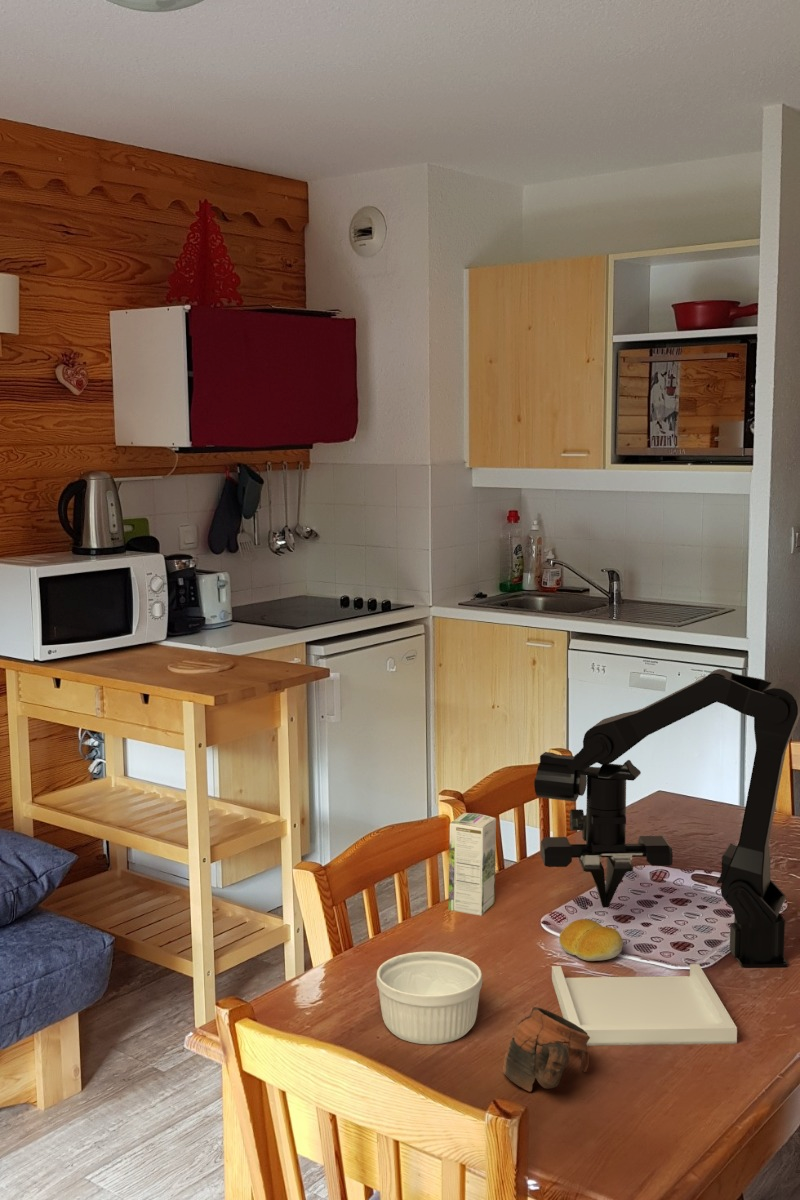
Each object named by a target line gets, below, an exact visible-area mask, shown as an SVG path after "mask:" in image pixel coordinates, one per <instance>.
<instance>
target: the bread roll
mask: <svg viewBox="0 0 800 1200" xmlns="http://www.w3.org/2000/svg"><path fill="white" fill-rule="evenodd" d="M558 940H559V944H560V947H561V948H562V950H564V952H565V953H567V954H569V955H572V956H576V957H577V958H579V959H581V960H583V961H586V962H587V961H588V962H595V961H606V960H610V959H613V958H615V957H617V956H619V955H620V954H621V952H622V950H623V947H624V946H623V945H624V944H623V943H624V941H623V938H622V935H621V934H620V933H619V931H618V930H617V929H615V928H613V927H610V926H603V925H602V924H600V923H599V922H597V921H594V920H592V919H589V918H581V919H575V920H574V921H572V922H571V923H569V924H567V926H565V927H564V929H563V930H562V931H561V932H560V933H559V939H558Z"/></svg>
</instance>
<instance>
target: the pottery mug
mask: <svg viewBox="0 0 800 1200" xmlns="http://www.w3.org/2000/svg"><path fill="white" fill-rule="evenodd" d="M589 1039H590V1037H589V1036H588V1035H587V1033H586V1032H585V1031H584V1030H583V1029H581V1028H580V1027H578V1026H577V1025H575V1024H573V1023H572V1022H570V1021H568V1020H566V1019H564V1018H563V1016H560V1015H558V1014H556V1013H553V1012H552V1011H549V1010H547V1009H544V1008H540V1007H536V1006H535V1007H532V1009H531V1012H530V1015H528V1016H525V1017H524V1018H523V1019H521V1020H520V1021H519V1022H518V1023H517V1025H516V1026H515V1029H514V1030H513V1037H512V1038H511V1041H510V1046H509V1048H508V1051H506V1052H505V1054H504V1057H503V1059H504V1061H503V1067H502V1073H503V1074H504V1076H506V1078H508V1079H509V1081H511V1082H512V1083H513V1084H515V1085H516V1086H517V1087H520V1088H521V1089H522V1090H525V1091H527V1092H529V1093H531V1092H532V1091H533V1087H534V1084H535V1082H536V1081H537V1083H538V1084H539V1085H540V1086H541V1087H542V1088H544V1089H548V1090H549V1089H554V1088H557V1087H558V1086H559V1084H560V1082H561V1080H562V1075H563V1073H564V1071H565V1069H566V1068H567V1064H568V1062H569V1061H570V1051H569V1050H570V1049H571V1050H576V1051H577V1052H578V1054H579V1055H580V1057H581V1063H580V1071H581V1072H587V1070H588V1067H589V1063H590V1062H589V1061H590V1053H589V1049H588V1046H587V1042H588V1040H589ZM566 1044H568V1046H567V1045H566ZM538 1046H539V1047H541V1052H540V1053H537V1047H538Z"/></svg>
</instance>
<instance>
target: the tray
mask: <svg viewBox="0 0 800 1200" xmlns="http://www.w3.org/2000/svg"><path fill="white" fill-rule="evenodd" d="M551 981H552V985H553V988H554V992H555V994H556V997H557V1002H558V1005H559V1008H560V1011H561V1015H562V1018H564V1019H566V1020H568V1021H570V1022H572V1023H573V1024H575V1025H577V1026H578V1027H580V1028H581V1029H583V1030H584V1031H585V1032H586V1033H587V1035H588V1036H589V1037H590V1039H589V1040H588V1042H587V1047H588V1046H590V1047H591V1046H592V1047H593V1046H595V1047H596V1046H642V1045H643V1046H647V1045H648V1046H650V1045H651V1046H658V1045H660V1046H661V1045H663V1046H664V1045H668V1046H670V1045H671V1046H672V1045H673V1046H674V1045H725V1044H726V1045H727V1044H728V1045H729V1044H731V1045H732V1044H733V1045H736V1044H738V1039H737V1038H738V1026H736V1024H735V1023H734V1020H733V1019H732V1017H731V1015H730V1013H729V1012H728V1011H727V1009H726V1006H724V1004H723V1002H722V1001H721V999H720V996H719V995H718V994H717V992H716V990H715V989H714V987H713V986H712V984H711V982H710V981H709V979H708V977H707V975H706V974H705V972H704V970H703V969H702V967H701V965H700V963H698V964H697V963H693V964H691V963H690V964H689V975H685V976H684V975H683V976H680V975H678V976H677V975H676V976H674V975H673V976H670V975H669V976H615V977H614V976H608V977H607V976H605V977H604V976H601V977H600V976H597V977H596V976H593V977H588V976H586V977H565V974H564V972H563V968H562V965H552V966H551Z"/></svg>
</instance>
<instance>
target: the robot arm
mask: <svg viewBox="0 0 800 1200" xmlns="http://www.w3.org/2000/svg"><path fill="white" fill-rule="evenodd" d="M715 703H719V704H722V705H725V706H727V707H729V708H730V709H733V710H734V711H737V712H738V713H741V714H744V715H746V716H749V717H751V718H753V725H754V726H753V730H754V731H753V732H754V738H755V753H754V759H753V764H752V771H751V775H750V780H749V781H750V782H749V786H748V793H747V796H746V803H745V807H744V813H743V819H742V824H741V829H740V834H739V840H738V844H737V845H735V844H734V843H729V844H728V846H727V847H726V850H725V851H724V853H723V854H722V856H721V873H720V876H719V877H718V879H717V880H716V884H718V885H719V884H721V885H720V895H721V897H722V899H724V901H725V903H726V904H727V905H729V906H730V907H731V908H732V912H733V914H734V920H733V921H734V922H731V923H730V928H729V929H730V932H729V951H730V953H731V954H732V955H733V957H734V958H735V959H736V960H737V963H739V964H740V966H741V967H742V968H777V967H778V968H784V967H788V966H789V961H788V960H787V959H786V958H785V939H786V938H785V934H786V933H785V932H786V919H785V918H784V917H783V916H782V914H781V913H780V911H781V909H782V907H783V905H784V902H785V900H786V897H787V896H786V894H785V893H784V892H783V891H782V890H781V889H780V888H779V886H777V884H776V883H775V882H774V881H773V880H772V879H771V854H770V853H771V852H770V843H769V842H770V836H771V830H772V827H773V826H772V825H773V821H774V815H775V809H776V805H777V799H778V795H779V794H778V793H779V789H780V783H781V777H782V773H783V768H784V763H785V758H786V751H787V750H788V749H787V748H788V746H789V743H790V741H791V739H792V737H793V734H794V733H795V729H796V727H797V725H798V723H799V720H800V687H799V686H798V685H796V684H795V683H793V682H791V681H788V680H776V681H769V680H765V679H763V678H758V677H754V676H748V675H742V674H738V673H735V672H732V671H729V670H726V669H724V668H722V669H721V668H718V669H714V670H712V671H711V672H709V674H707V675H706V676H704V677H702V678H700V679H698V680H697V681H694V682H693V683H691V684H688V685H685V686H684V687H682V688H681V689H678V690H676V691H675V692H672V693H670V694H669V695H667V696H664V697H662V698H660V699H659V700H656V701H655V702H652V703H650V704H648V705H647V706H645V707H643V708H639V709H637V710H634V711H628V712H622V713H619V714H616V715H613V716H609V717H606V718H603V719H602V720H600V721H598V722H597V723H596V724H595V725H593V726H592V727H590V728H589V729H588V730H587V731H586V732H585V733H584V735H583V740H582V748H581V749H580V750H579V751H578V753H576V754H575V755H567V754H566V755H564V754H556V753H554V752H550V751H549V752H548V751H545V752H543V753H541V754H540V757H539V764H538V766H537V769H536V774H535V777H534V785H533V786H534V793H535V796H536V797H537V798H543V799H549V800H557V801H566V802H573V803H575V802H576V801H577V800H578V798H579V797H582V796H584V794H585V793H586V811H585V813H586V814H584V809H570V810H569V828H570V831H572V832H573V831H581V832H582V833H581V835H582V840H583V841H584V842H585V843H582V844H581V843H578V844H577V843H574V844H573V843H572V844H571V843H570V840H569V838H568V837H567V836H544V837H543V838H542V839H541V841H540V856H541V859H542V863H543V865H544V867H548V868H567V867H568V866H569V865H570V864H571V863H572V862H573V859H574V858H575V859H576V858H578V861H579V863H580V866H581V868H582V870H583V872H585V873H590V874H591V877H592V879H593V881H594V885H595V887H596V891H597V893H598V894H597V895H598V897H599V901H600V904H601V907H602V908H603V909H606V908H607V909H608V908H609V907H610V904H611V902H612V900H613V899H614V895H615V894H616V891H617V889H618V887H619V885H620V883H621V882H622V880H623V879H624V877H625V875H627V873H629V872H633V871H634V866H633V864H632V860H633V858H643V857H644V858H645V860H646V862H648V864H649V865H650V866H652V867H655V866H656V867H661V866H662V867H664V866H667V867H668V866H669V867H670V866H671V865H673V860H674V859H673V848H672V846H671V845H670V844H669V842H668V840H666V838H664V836H663V835H639V836H638V840H637V841H638V842H637V843H626V832H627V831H626V827H627V826H626V825H627V815H626V813H627V810H626V809H627V781H632V782H633V781H635V780H636V779H637V778H638V777H639V776H641V773H642V772H641V770H640V769H639V768H637V767H636V766H635V765H634V764H633V763H632V761H631V759H627V760H626V761H625V762H624V763H623V764H617V763H616V764H615V763H613V762H615V761H616V760H617V759H619V758H620V757H621V756H623V755H625V754H626V753H627V752H628V751H630V750H631V749H632V748H633V747H635V746H636V745H637V744H638V743H639V744H640V742H641V741H642V740H644V739H645V738H647V737H648V736H649V735H652V734H654V733H656V732H658V731H660V730H662V729H664V728H666V727H668V726H670V725H672V724H674V723H676V722H679V721H680V720H682V719H684V718H687V717H688V716H690V715H693V714H694V713H695V714H696V713H697V712H699V711H700V710H702V709H705V708H707V707H709V706H712V705H713V704H715ZM596 764H599V765H601V766H600V767H597V766H593V765H596ZM602 858H606V867H607V868H606V876H605V868H604V865H602V862H601V860H602Z"/></svg>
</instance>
